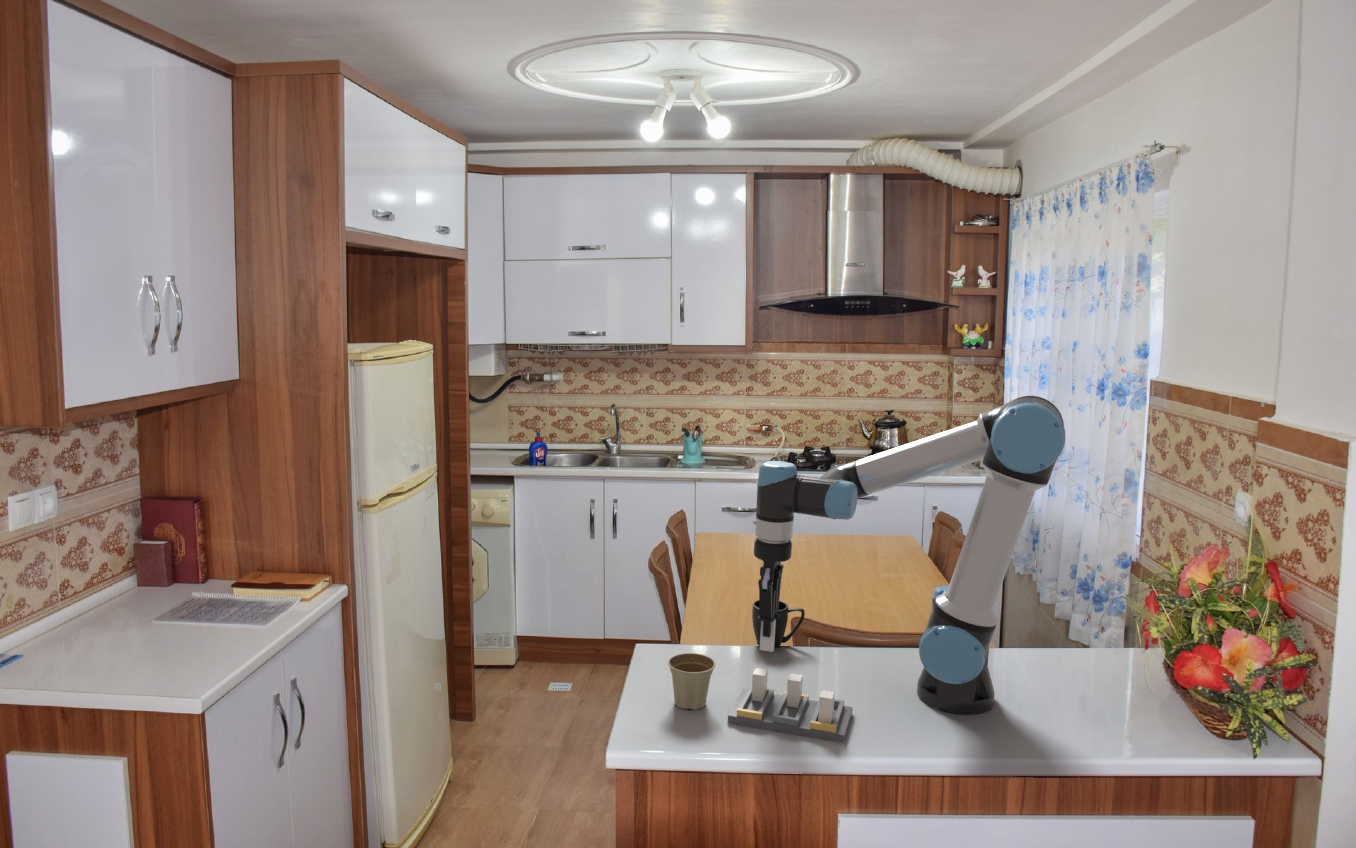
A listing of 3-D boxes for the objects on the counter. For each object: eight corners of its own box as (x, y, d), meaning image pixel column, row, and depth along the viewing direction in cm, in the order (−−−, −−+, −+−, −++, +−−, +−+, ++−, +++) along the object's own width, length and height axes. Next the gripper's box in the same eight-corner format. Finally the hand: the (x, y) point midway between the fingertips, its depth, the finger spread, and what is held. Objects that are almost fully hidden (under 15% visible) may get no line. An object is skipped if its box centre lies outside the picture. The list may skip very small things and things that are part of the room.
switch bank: (852, 714, 178) (852, 701, 177) (843, 743, 166) (844, 729, 166) (742, 696, 184) (743, 683, 184) (727, 722, 173) (728, 709, 172)
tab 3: (833, 719, 172) (834, 692, 171) (830, 726, 169) (832, 698, 168) (820, 717, 173) (822, 690, 172) (818, 724, 170) (819, 696, 169)
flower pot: (721, 699, 183) (722, 658, 181) (702, 718, 174) (704, 676, 173) (679, 689, 187) (680, 649, 185) (658, 708, 178) (659, 666, 177)
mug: (803, 653, 207) (805, 613, 205) (750, 649, 208) (752, 610, 206) (802, 639, 215) (804, 600, 213) (751, 636, 216) (753, 597, 214)
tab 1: (766, 695, 181) (767, 669, 180) (763, 702, 178) (764, 675, 177) (754, 693, 182) (756, 668, 181) (751, 700, 179) (752, 674, 178)
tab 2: (801, 701, 179) (802, 675, 178) (798, 708, 176) (800, 681, 175) (789, 699, 180) (790, 673, 179) (786, 706, 177) (787, 679, 176)
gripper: (762, 528, 189) (756, 635, 193) (747, 544, 177) (741, 658, 181) (797, 532, 187) (790, 640, 191) (785, 549, 175) (778, 665, 179)
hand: (766, 649), depth 186 cm, fingers closed
